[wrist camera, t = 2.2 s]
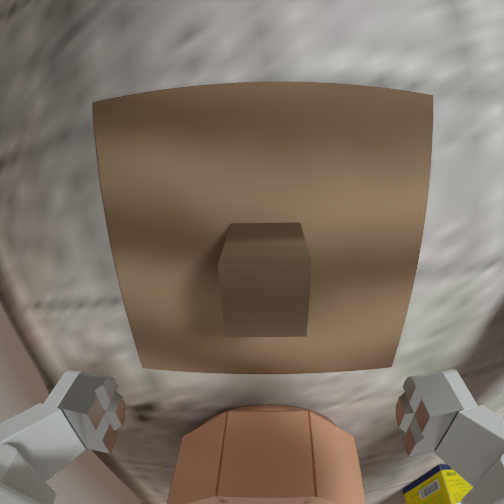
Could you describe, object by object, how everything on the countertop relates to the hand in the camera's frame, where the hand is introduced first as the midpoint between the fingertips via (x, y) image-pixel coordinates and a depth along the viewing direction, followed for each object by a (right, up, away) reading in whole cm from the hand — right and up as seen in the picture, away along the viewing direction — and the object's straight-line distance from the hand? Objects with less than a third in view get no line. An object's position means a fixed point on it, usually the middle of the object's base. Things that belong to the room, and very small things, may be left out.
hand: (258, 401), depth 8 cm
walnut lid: (0, +4, +7) cm, 8 cm away
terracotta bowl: (+1, -11, +13) cm, 17 cm away
